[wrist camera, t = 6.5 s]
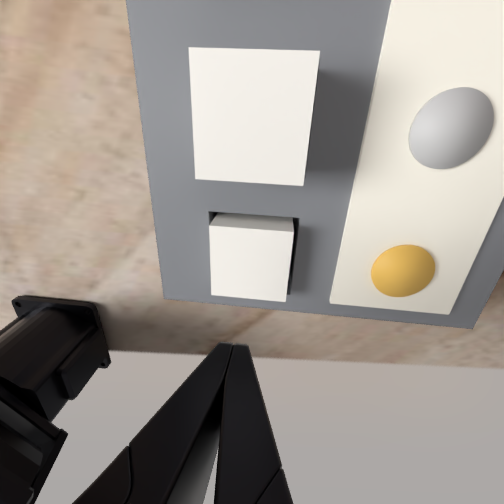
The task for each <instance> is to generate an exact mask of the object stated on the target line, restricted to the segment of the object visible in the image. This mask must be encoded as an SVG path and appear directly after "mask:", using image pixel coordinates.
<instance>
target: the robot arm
mask: <svg viewBox="0 0 504 504" xmlns="http://www.w3.org/2000/svg"><path fill="white" fill-rule="evenodd" d="M12 305H13V307H14V309H15V312H16V314H17V316H18V318H16V319H15V320H14V321H12V322H11V323H10V324H8V325H7V326H6V327H4V328H3V329H2V330H0V504H34V503H35V501H36V499H37V497H38V495H39V493H40V491H41V489H42V487H43V485H44V483H45V481H46V478H47V476H48V474H49V473H50V470H51V468H52V466H53V464H54V462H55V460H56V458H57V456H58V454H59V452H60V450H61V448H62V446H63V444H64V442H65V440H66V438H67V436H68V433H67V432H66V431H64V430H63V429H59V428H57V427H56V426H55V425H54V424H52V423H51V422H52V421H53V419H54V418H55V417H56V415H57V414H58V413H59V411H60V410H61V409H62V408H63V406H64V405H65V403H66V402H67V401H68V400H73V399H75V398H76V397H77V396H78V394H79V393H80V392H81V390H82V389H83V387H84V386H85V385H86V384H87V382H88V381H89V379H90V378H91V377H92V375H93V374H94V373H95V371H96V370H97V369H98V368H107V367H108V366H109V364H110V363H111V360H110V356H109V352H108V348H107V345H106V341H105V337H104V333H103V330H102V326H101V322H100V319H99V315H98V311H97V308H96V306H95V305H93V304H92V303H85V302H76V301H66V300H56V299H46V298H36V297H26V296H18V297H16V298H15V299H13V300H12ZM218 446H219V449H218ZM217 450H218V461H217V473H216V484H215V496H214V504H293V501H292V498H291V494H290V491H289V488H288V484H287V481H286V478H285V474H284V470H283V469H282V464H281V460H280V457H279V453H278V449H277V446H276V442H275V439H274V435H273V432H272V428H271V425H270V421H269V418H268V414H267V411H266V407H265V403H264V400H263V396H262V392H261V389H260V385H259V382H258V378H257V375H256V371H255V368H254V364H253V360H252V357H251V353H250V350H249V346H248V345H246V344H238V343H236V344H233V343H229V342H219V343H218V344H217V346H216V347H215V348H214V349H213V350H212V351H211V352H210V353H209V354H208V356H207V357H206V358H205V359H204V360H203V361H202V362H201V363H200V365H199V366H198V367H197V368H196V369H195V370H194V371H193V372H192V373H191V375H190V376H189V377H188V378H187V379H186V380H185V382H183V384H182V385H181V386H180V387H179V388H178V389H177V391H175V392H174V394H173V395H172V396H171V397H170V398H169V399H168V400H167V401H166V403H165V404H164V405H163V406H162V407H161V408H160V409H159V411H157V413H156V414H155V415H154V416H153V417H152V418H151V419H150V420H149V422H148V423H147V424H146V425H145V426H144V427H143V428H142V429H141V431H140V432H139V433H138V434H137V435H136V436H135V437H134V438H133V439H132V441H131V442H130V443H129V446H126V447H125V448H124V449H123V451H122V452H121V453H120V454H119V455H118V456H117V457H116V458H115V459H114V461H113V462H112V463H111V464H110V465H109V466H108V467H107V468H106V469H105V470H104V471H103V472H102V474H101V475H100V476H99V477H98V478H97V479H96V480H95V481H94V482H93V483H92V484H91V485H90V486H89V487H88V488H87V489H86V490H85V491H84V492H83V493H82V494H81V495H80V496H79V497H78V498H77V499H76V500H75V501H74V502H73V503H72V504H203V501H204V498H205V494H206V490H207V487H208V483H209V479H210V475H211V472H212V468H213V465H214V461H215V457H216V454H217Z"/></svg>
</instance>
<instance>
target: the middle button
mask: <svg viewBox="0 0 504 504" xmlns="http://www.w3.org/2000/svg"><path fill="white" fill-rule="evenodd" d="M188 48H189V67H190V86H191V105H192V125H193V144H194V163H195V179H201V180H217V181H233V182H248V183H264V184H280V185H295V186H303V184H304V176H305V168H306V160H307V152H308V144H309V136H310V128H311V120H312V112H313V104H314V96H315V88H316V80H317V72H318V64H319V56H320V51H311V50H273V49H236V48H199V47H188Z"/></svg>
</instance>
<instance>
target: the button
mask: <svg viewBox="0 0 504 504" xmlns="http://www.w3.org/2000/svg"><path fill="white" fill-rule="evenodd" d="M293 235H294V228H293V217H281V216H267V215H253V214H239V213H225V212H218V213H217V215H216V216H215V218H214V219H213V221H212V222H211V224H210V225H209V239H210V270H211V295H216V296H227V297H237V298H248V299H258V300H268V301H279V302H286V294H287V286H288V278H289V269H290V261H291V252H292V244H293Z"/></svg>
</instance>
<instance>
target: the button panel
mask: <svg viewBox="0 0 504 504" xmlns="http://www.w3.org/2000/svg"><path fill="white" fill-rule="evenodd" d="M126 5H127V13H128V21H129V29H130V37H131V45H132V52H133V60H134V68H135V76H136V84H137V92H138V99H139V107H140V115H141V123H142V131H143V139H144V146H145V154H146V162H147V170H148V178H149V186H150V193H151V201H152V209H153V217H154V225H155V233H156V240H157V248H158V256H159V264H160V272H161V279H162V287H163V295H164V299H171V300H181V301H191V302H201V303H211V304H222V305H232V306H242V307H252V308H262V309H273V310H283V311H293V312H303V313H313V314H324V315H334V316H344V317H354V318H364V319H375V320H385V321H395V322H405V323H415V324H426V325H436V326H446V327H456V328H466V329H473V327H474V325H475V323H476V321H477V320H478V318H479V316H480V314H481V312H482V310H483V308H484V306H485V304H486V303H487V301H488V299H489V297H490V295H491V293H492V291H493V289H494V287H495V285H496V284H497V282H498V280H499V278H500V276H501V274H502V272H503V270H504V0H126ZM188 47H199V48H236V49H273V50H311V51H320V56H319V64H318V72H317V80H316V88H315V96H314V104H313V112H312V120H311V128H310V136H309V144H308V152H307V160H306V168H305V176H304V184H303V186H295V185H280V184H264V183H248V182H233V181H217V180H201V179H195V163H194V144H193V125H192V105H191V86H190V67H189V48H188ZM218 212H225V213H239V214H253V215H267V216H281V217H293V228H294V235H293V244H292V252H291V261H290V269H289V278H288V286H287V294H286V302H279V301H268V300H258V299H248V298H237V297H227V296H216V295H211V270H210V239H209V225H210V224H211V222H212V221H213V219H214V218H215V216H216V215H217V213H218Z"/></svg>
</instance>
